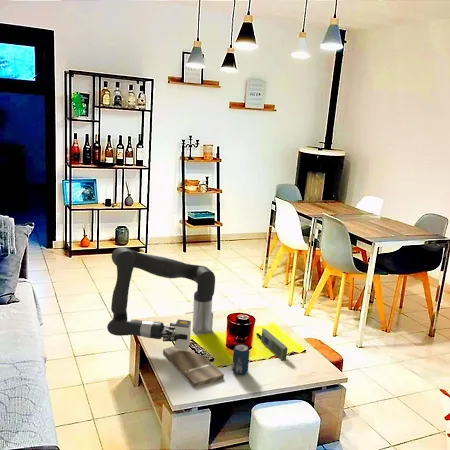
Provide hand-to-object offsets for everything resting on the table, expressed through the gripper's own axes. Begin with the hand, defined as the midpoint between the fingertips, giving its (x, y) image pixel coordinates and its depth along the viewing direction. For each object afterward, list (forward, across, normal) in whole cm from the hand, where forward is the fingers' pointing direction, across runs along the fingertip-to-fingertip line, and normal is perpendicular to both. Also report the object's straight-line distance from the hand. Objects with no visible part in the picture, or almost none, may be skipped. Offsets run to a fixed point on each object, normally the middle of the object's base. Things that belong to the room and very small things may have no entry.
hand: (188, 334), depth 211 cm
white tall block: (-3, 0, +6) cm, 7 cm away
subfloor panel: (+4, -7, +11) cm, 14 cm away
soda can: (+25, -8, +11) cm, 28 cm away
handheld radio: (+37, +17, +11) cm, 42 cm away
